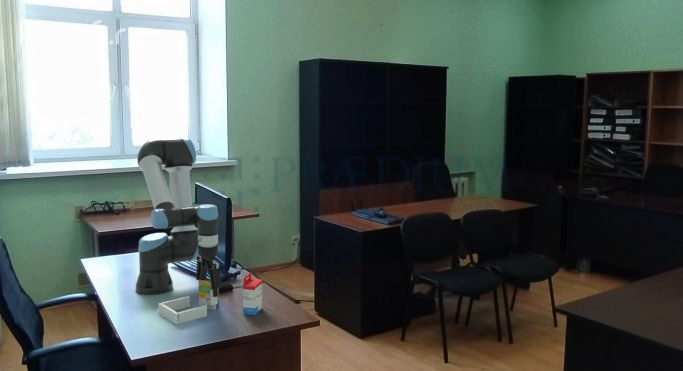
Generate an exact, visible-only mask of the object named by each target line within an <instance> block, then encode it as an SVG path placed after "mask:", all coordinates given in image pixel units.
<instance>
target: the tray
mask: <svg viewBox="0 0 683 371" xmlns="http://www.w3.org/2000/svg"><path fill="white" fill-rule="evenodd" d="M157 305H158V315H161V316H162V317H164V318H166V319H167V320H169V321H170V322H172V323H173V324H175V325H180V324H184V323H186V322H187V321H188V322H190V321H191V322H192V321H194V320H198V319H202V318H206V317H207V316H208V309H207V306H206V305H205V306H201V307H199V306H198V307H193V308H189V307H190V296H189V295H187V296H182V297H179V298H174V299H170V300H167V301H163V302H159V303H158V304H157ZM185 308H189V309H187V310H183V311H179V312H177V310H182V309H185Z"/></svg>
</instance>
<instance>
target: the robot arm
mask: <svg viewBox="0 0 683 371" xmlns="http://www.w3.org/2000/svg"><path fill="white" fill-rule="evenodd" d="M136 160H137V165H138V168H139V171H141V172H142V173H143V176H144V179H145V182H146V186H147V188H148V189H147V190H148V193H149V195H150V198H151V199H150V200H151V203H152V205H153V209H152V210H151V213H150V220H151V225H152V227H153V228H154V229H160V230H161V229H164V230H165V229H169V228H172V229H171V230H170V235H168V234H167V233H166V232H155V233H150V234H146V235H144V236H142V237H141V238H140V239H139V240H138V250H137V251H138V264H139V274H138V276H137V279H136V282H135V291H136V292H137V293H139V294H142V295H158V294H159V295H160V294H164V293H167V292H169V291H171V290H173V288H174V285H173V284H174V282H173V279H172V276H171V274H170V272H169V264H174V263H182V262H192V261H196V272H195V273H196V274H195V275H196V276H195V280H196V281H198V282H197V283H199V280H206V281H207V275H209V276H208V277H209V281H210V282H211V286H212V288H210V293H211V305H215V304H218V288H219V289H221V288H222V276H221V262H217V260H216V256H217V255H218V254H219V245H218V244H219V233H218V232H219V229H218V228H219V219H218V218H219V212H218V206H217V205H216V204H198V203H195V204H193V200H192V187H191V176H190V174H191V173H190V171H191V170H192V169H193V165H194V164H196V162H197V151H196V148H195V145H194V142H193V141H192V139H190V138H189V137H188V138H187V137H164V138H163V137H162V138H161V137H157V138H152V139H150V140H148V141H146V142H145V143H143V145H142V146H141V148H139V151H138V154H137V159H136ZM162 166H164V170H165V171H166V172H168V174H169V186H168V184H167V180H166V177H165V174H164V171H163V169H162ZM169 187H170V188H169ZM196 226H197V227H196ZM210 282H209V283H210ZM203 283H208V282H203Z"/></svg>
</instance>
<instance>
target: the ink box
mask: <svg viewBox="0 0 683 371" xmlns="http://www.w3.org/2000/svg"><path fill="white" fill-rule="evenodd" d="M242 281H243V283H242V284H243V285H242V313H243V315H246V316H256V315H257V314H258V313H259V312H260V311H261V310H262V309H263V306H262V304H263V280H262V279H258V278H252V271H250V272H249V273H247V274H246V275H245V276H244V277H243V279H242Z"/></svg>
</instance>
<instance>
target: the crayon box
mask: <svg viewBox="0 0 683 371" xmlns="http://www.w3.org/2000/svg"><path fill="white" fill-rule="evenodd" d="M203 282H207V283H203ZM210 288H212V286H211V282H210V280H207V279H206V280H199V282H198V307H201V306H205V305H206V306H207V310H214V311H215V310H217V309H218V308H220V303H219V301H220V300H219V298H220V297H219V295H220V294H219V291H220V290H219V289H220V288H218V304H215V305H211V293H210Z"/></svg>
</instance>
